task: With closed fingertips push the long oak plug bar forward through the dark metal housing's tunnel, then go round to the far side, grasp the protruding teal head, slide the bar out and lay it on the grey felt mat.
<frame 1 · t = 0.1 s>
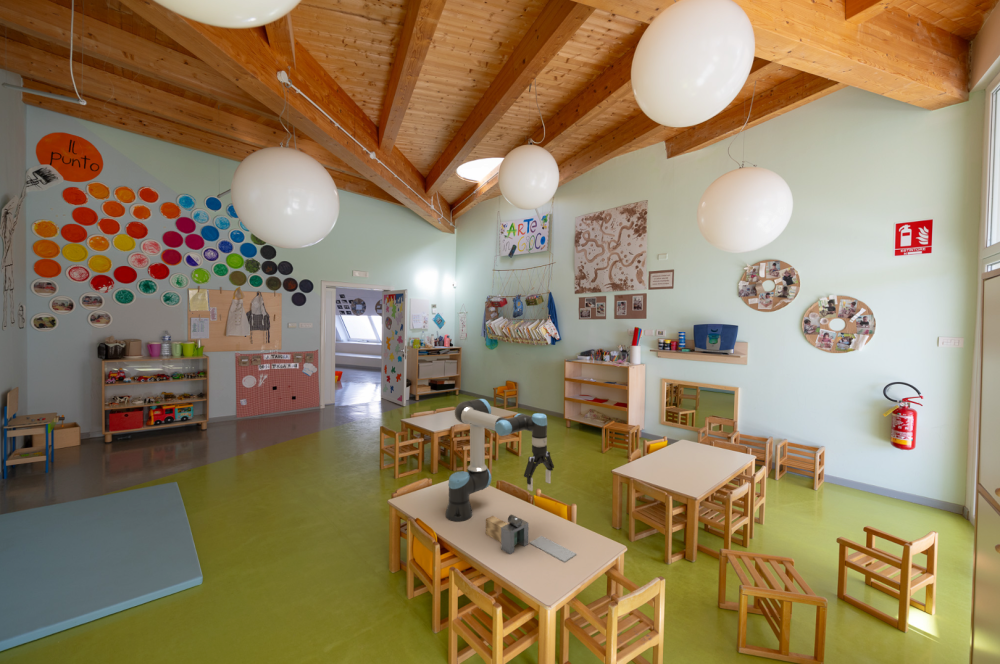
hand: (539, 486, 209), 28 cm above the table, fingers open, 13 cm apart
mat: (552, 549, 202), on the table
plug: (501, 538, 212), on the table
housing: (514, 546, 204), on the table
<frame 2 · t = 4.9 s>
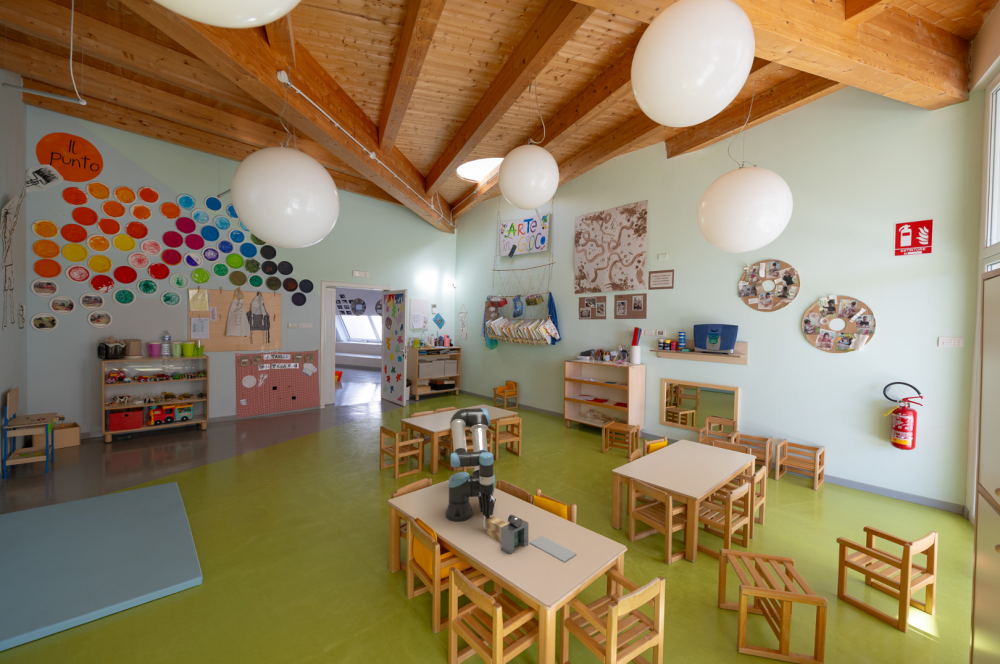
hand: (486, 526, 219), 2 cm above the table, fingers closed
plug: (501, 539, 211), on the table, touching gripper
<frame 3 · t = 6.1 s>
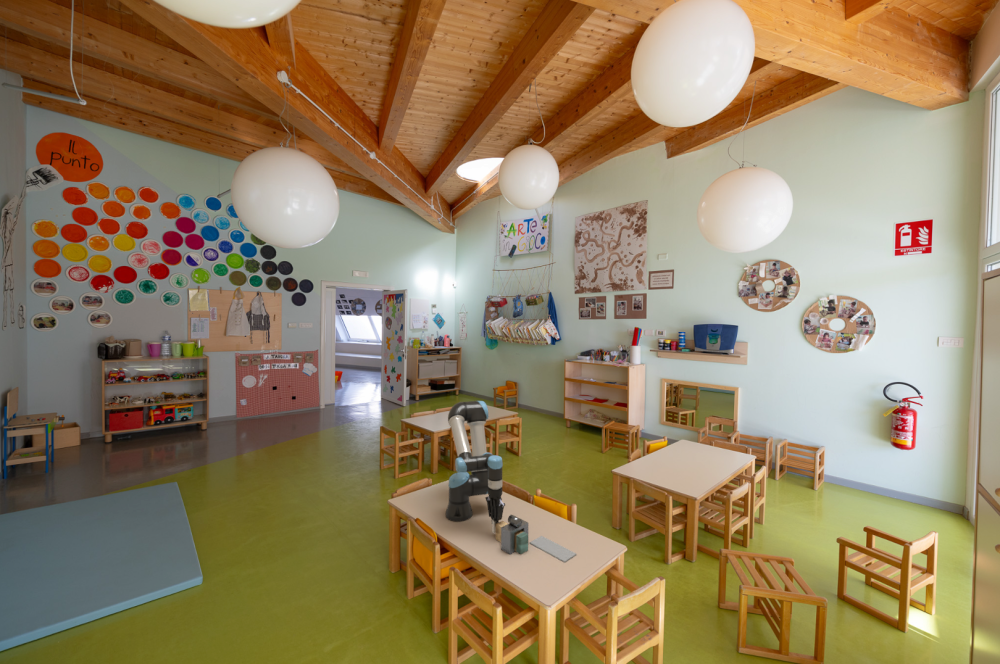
hand: (495, 531, 215), 2 cm above the table, fingers closed
plug: (511, 544, 206), on the table, touching gripper
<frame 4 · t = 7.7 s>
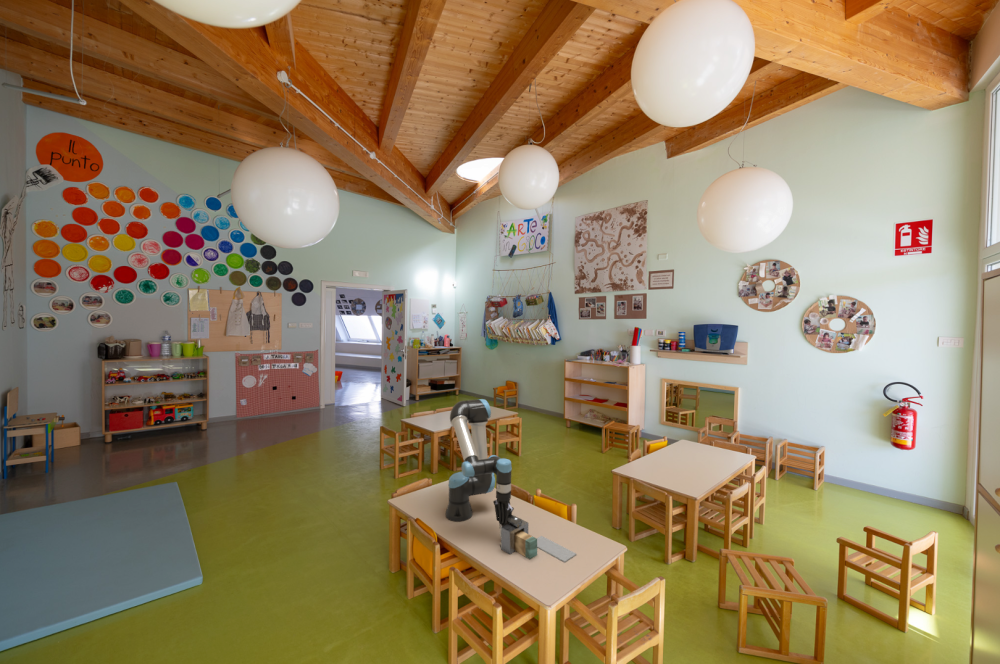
hand: (502, 536, 210), 2 cm above the table, fingers closed
plug: (519, 549, 202), on the table, touching gripper
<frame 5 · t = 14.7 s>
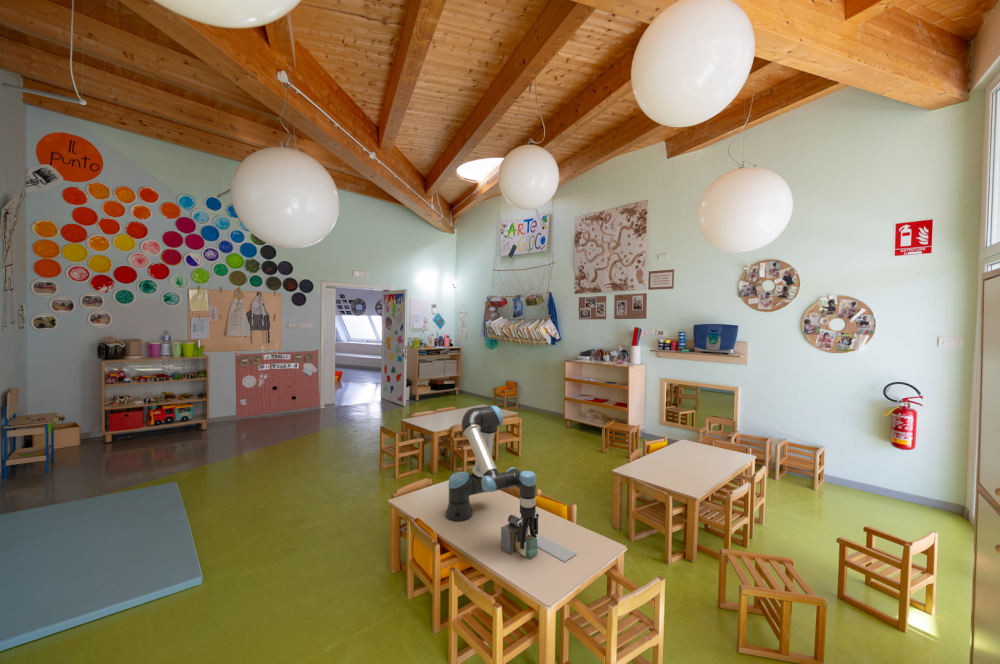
hand: (527, 552, 198), 1 cm above the table, fingers closed on plug, 5 cm apart
plug: (519, 549, 202), on the table, touching gripper
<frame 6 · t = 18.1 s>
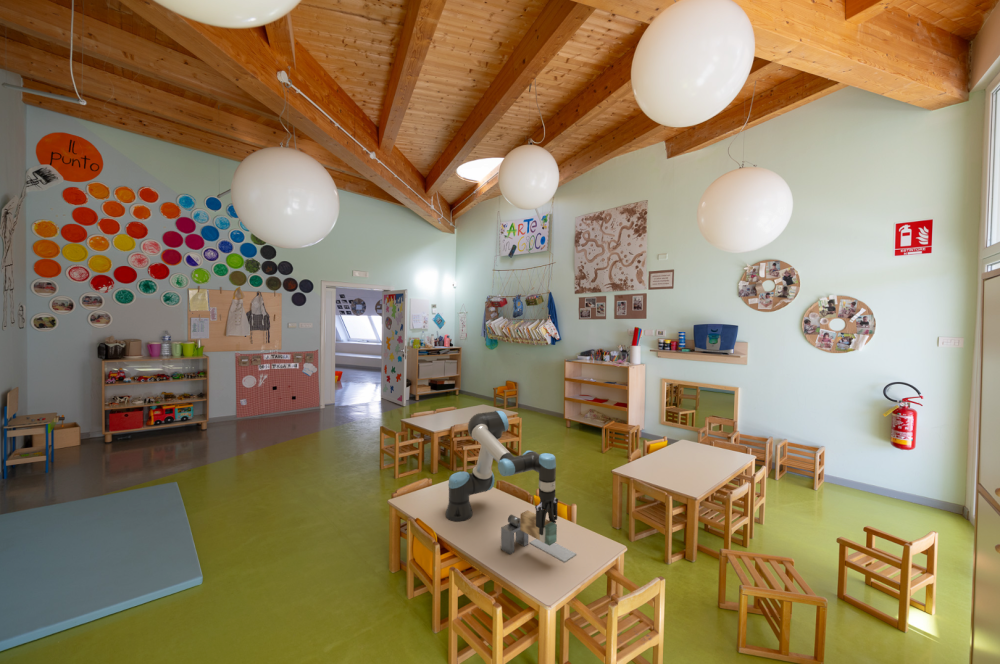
hand: (546, 538, 189), 12 cm above the table, fingers closed on plug, 5 cm apart
plug: (537, 535, 193), point 12 cm above the table, touching gripper
when the fingers open (2 cm above the table, at t = 21.5 s): plug stays where it is, resting on mat.
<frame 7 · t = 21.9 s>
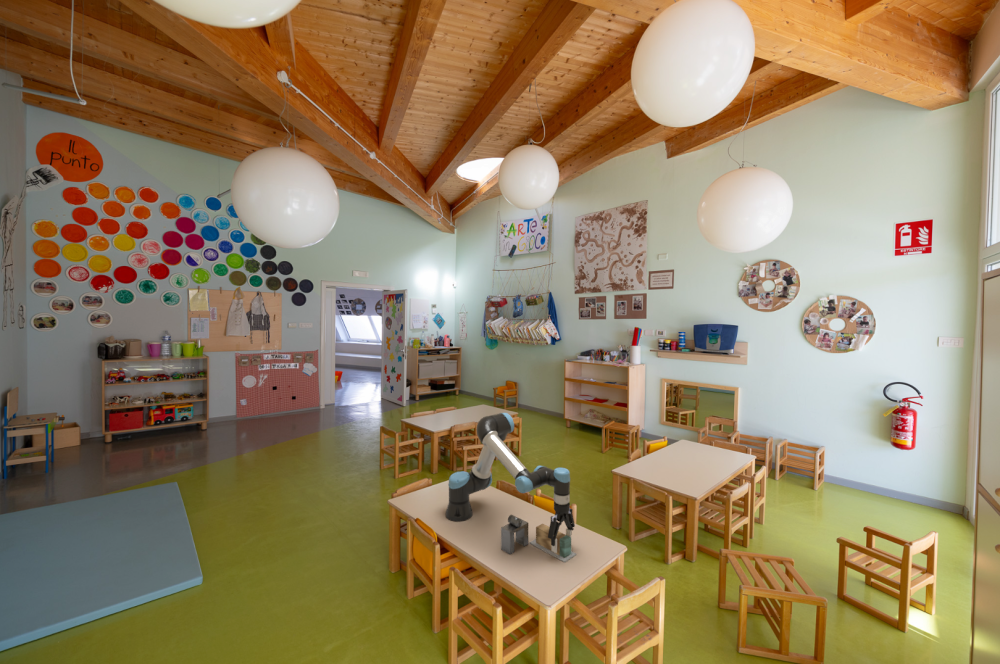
hand: (561, 547, 198), 3 cm above the table, fingers open, 10 cm apart
plug: (553, 548, 202), point 1 cm above the table, touching mat
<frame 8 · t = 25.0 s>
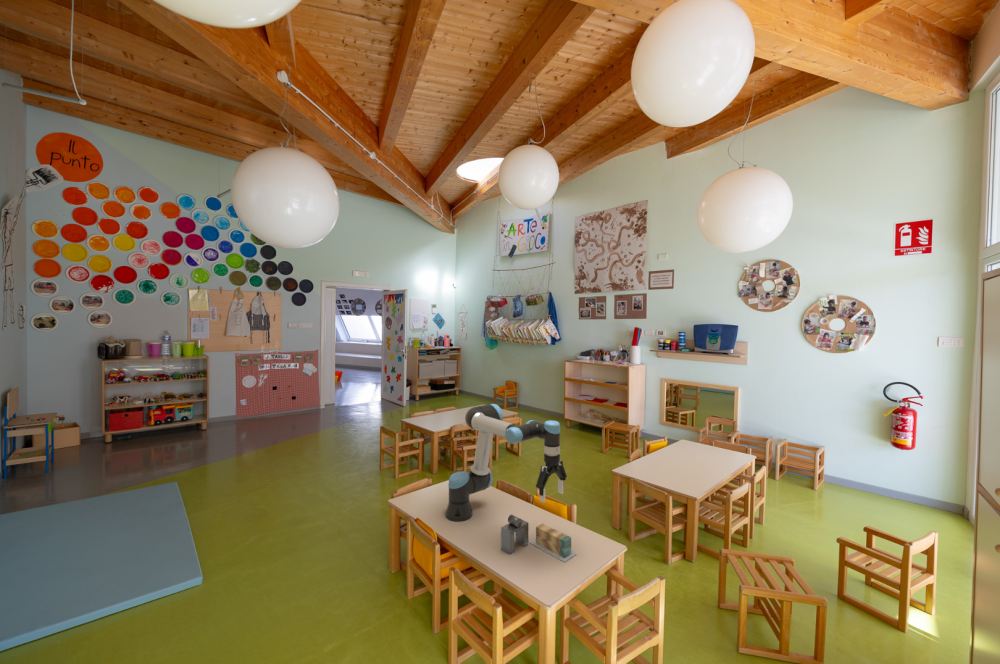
hand: (551, 497, 199), 27 cm above the table, fingers open, 13 cm apart
nothing on the table moved.
at the end: plug inside the target area on the mat (0.4 cm from its centre), point 0.6 cm above the mat's base; plug touching mat; the gripper is holding nothing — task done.
